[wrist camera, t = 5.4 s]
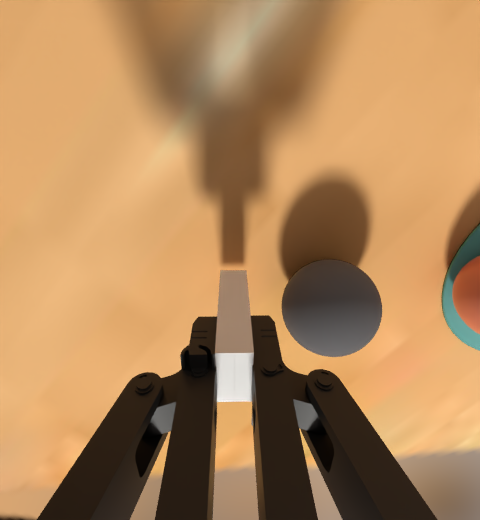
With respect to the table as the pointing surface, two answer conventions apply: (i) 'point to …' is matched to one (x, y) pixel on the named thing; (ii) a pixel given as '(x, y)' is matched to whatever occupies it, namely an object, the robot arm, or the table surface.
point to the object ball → (468, 294)
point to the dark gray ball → (331, 308)
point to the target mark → (470, 249)
